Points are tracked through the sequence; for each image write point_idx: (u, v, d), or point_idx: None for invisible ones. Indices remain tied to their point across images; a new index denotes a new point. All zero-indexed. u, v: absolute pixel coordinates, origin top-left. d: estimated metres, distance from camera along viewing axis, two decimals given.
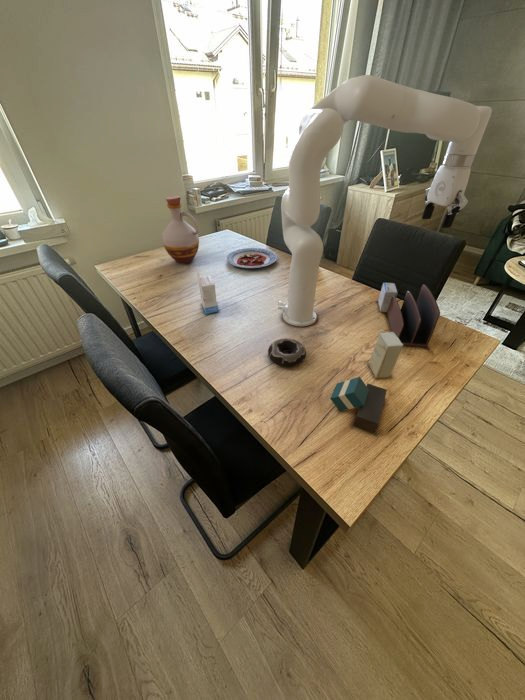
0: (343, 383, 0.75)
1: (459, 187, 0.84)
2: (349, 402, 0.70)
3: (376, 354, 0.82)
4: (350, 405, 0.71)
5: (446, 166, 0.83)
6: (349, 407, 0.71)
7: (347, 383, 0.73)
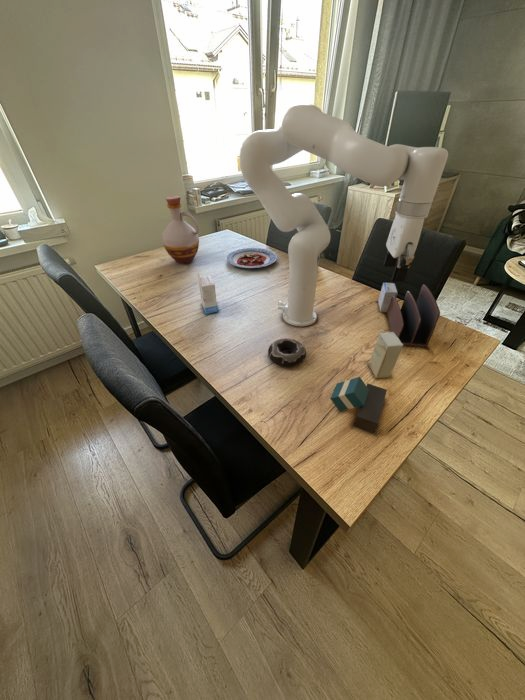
0: (343, 383, 0.75)
1: (408, 239, 0.71)
2: (349, 402, 0.70)
3: (376, 354, 0.82)
4: (350, 405, 0.71)
5: (396, 213, 0.71)
6: (349, 407, 0.71)
7: (347, 383, 0.73)
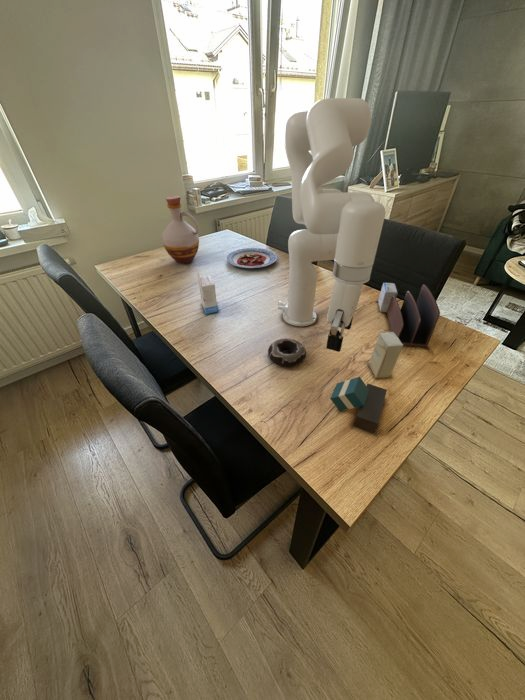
0: (343, 383, 0.75)
1: (337, 305, 0.58)
2: (349, 402, 0.70)
3: (376, 354, 0.82)
4: (350, 405, 0.71)
5: None
6: (349, 407, 0.71)
7: (347, 383, 0.73)
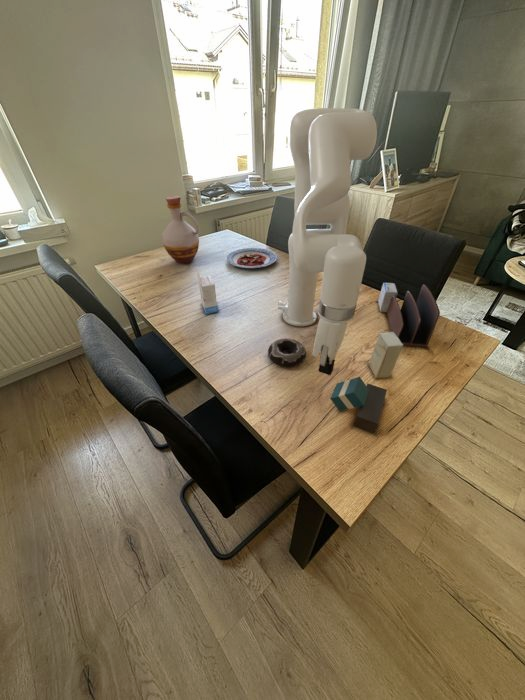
0: (343, 383, 0.75)
1: (322, 341, 0.61)
2: (349, 402, 0.70)
3: (376, 354, 0.82)
4: (350, 405, 0.71)
5: (318, 309, 0.62)
6: (349, 407, 0.71)
7: (347, 383, 0.73)
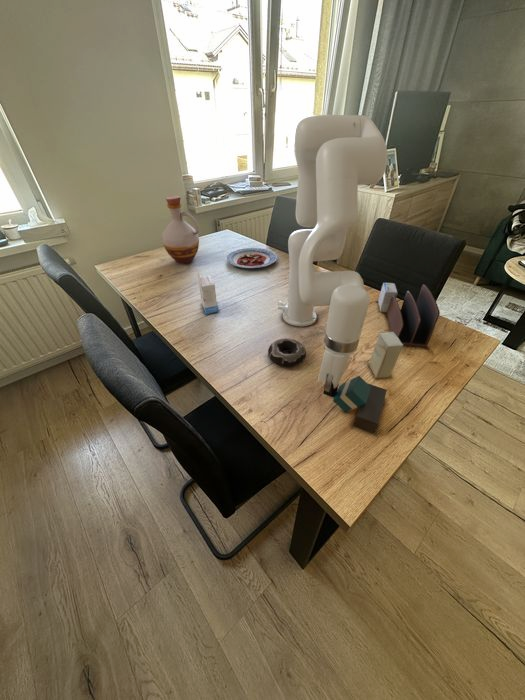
0: (344, 384, 0.75)
1: (327, 370, 0.65)
2: (351, 402, 0.70)
3: (376, 354, 0.82)
4: (353, 405, 0.70)
5: None
6: (353, 407, 0.71)
7: (348, 384, 0.73)
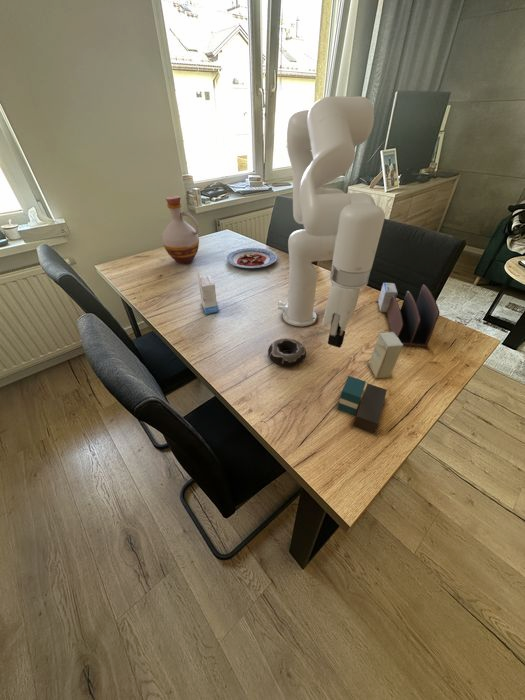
0: None
1: (333, 309, 0.58)
2: (350, 402, 0.71)
3: (376, 354, 0.82)
4: (354, 404, 0.70)
5: None
6: (355, 407, 0.71)
7: None
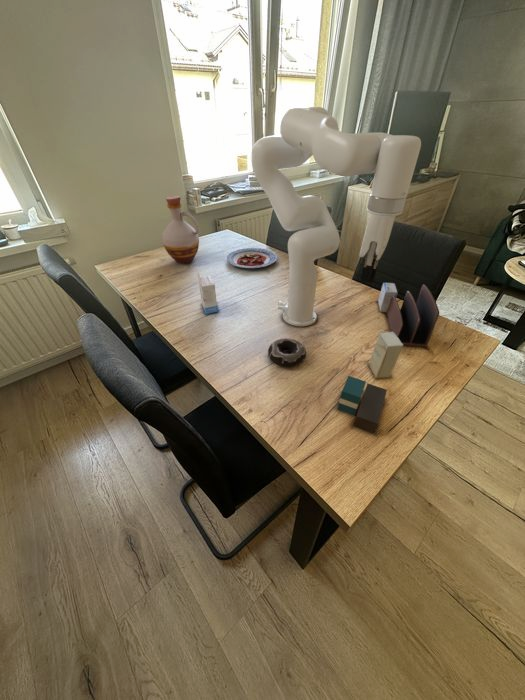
0: None
1: (371, 237, 0.64)
2: (350, 402, 0.71)
3: (376, 354, 0.82)
4: (354, 404, 0.70)
5: (367, 208, 0.65)
6: (355, 407, 0.71)
7: None
